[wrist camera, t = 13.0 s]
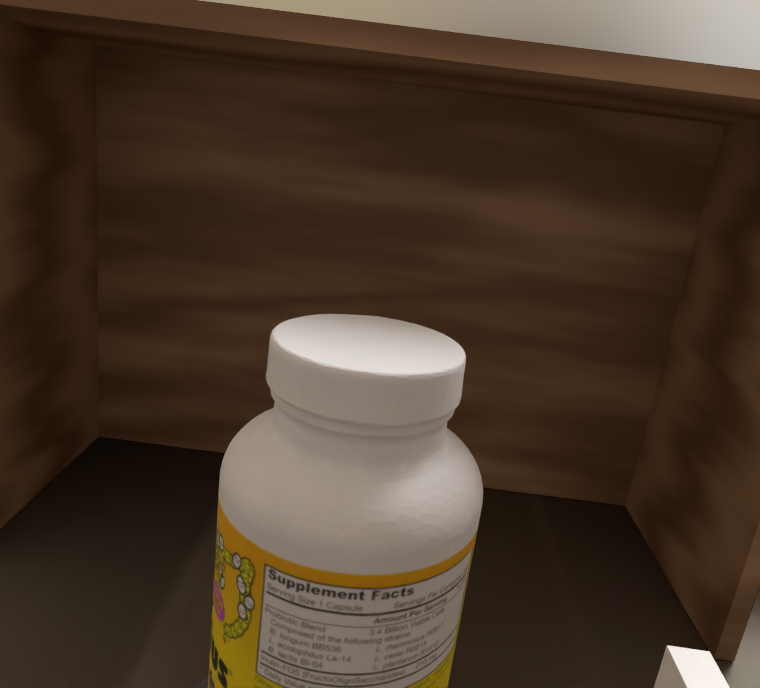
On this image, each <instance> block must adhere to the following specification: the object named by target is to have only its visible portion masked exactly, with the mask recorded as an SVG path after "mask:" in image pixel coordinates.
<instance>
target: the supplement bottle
mask: <svg viewBox="0 0 760 688" xmlns="http://www.w3.org/2000/svg"><path fill="white" fill-rule="evenodd" d="M465 364H466V355H465V352H464V350H463V348H462V347H461V346H460V345H459V344H458V343H457V342H456V341H454V340H453V339H451V338H450V337H448V336H446V335H444V334H442V333H440V332H438V331H435V330H433V329H430V328H427V327H424V326H421V325H417V324H413V323H409V322H405V321H401V320H396V319H390V318H384V317H379V316H368V315H349V314H317V315H307V316H302V317H298V318H293V319H290V320H287V321H284V322H282V323H280V324H279V325H277V326H276V327H275V328H274V329H273V330H272V333H271V335H270V341H269V353H268V364H267V371H266V381H267V383H268V386H269V387H270V390H271V396H272V397H273V399H274V401H275V403H274V408H272V409H270V410H267V411H265V412H263V413H262V414H260V415H258V416H257V417H255V418H254V419H252V420H251V421H250V422H249V423H247V424H246V425H245V426H244V427H243V428H242V429H241V430H240V431H239V432H238V433H237V434H236V436H235V437H234V438H233V440H232V441H231V443H230V444H229V446H228V448H227V450H226V452H225V455H224V458H223V460H222V465H221V470H220V479H219V493H218V513H217V533H216V552H215V573H214V589H213V602H212V624H211V642H210V657H209V678H208V688H447V687H448V682H449V677H450V671H451V666H452V661H453V656H454V650H455V645H456V640H457V635H458V629H459V624H460V618H461V613H462V608H463V602H464V597H465V591H466V586H467V581H468V576H469V571H470V566H471V561H472V556H473V551H474V546H475V541H476V535H477V530H478V525H479V519H480V514H481V509H482V504H483V484H482V478H481V474H480V471H479V468H478V465H477V463H476V461H475V459H474V457H473V456H472V454H471V452H470V451H469V449H468V448H467V447H466V445H465V444H464V443H463V442H462V441H461V440H460V439H459V438H458V437H457V436H456V435H455V434H454V433H453V432H452V431H450V430H449V429H448V428H447V421H448V420H449V419H450V418H451V417H452V416H453V413H454V411H455V408H457V406H458V405H459V403H460V400H461V395H462V386H463V377H464V371H465Z"/></svg>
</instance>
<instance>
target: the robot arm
mask: <svg viewBox="0 0 760 688" xmlns="http://www.w3.org/2000/svg"><path fill="white" fill-rule="evenodd" d="M654 688H730V687H729V685H728V684H727V682H726V680H725V678H724V676H723V675H722V673H721V671H720V669H719V667H718V666H717V664H716V662H715V660H714V658H713V657H712V655H711V653H710V651H703V650H696V649H689V648H683V647H676V646H669V645H667V646H666V650H665V653H664V656H663V659H662V663H661V666H660V669H659V672H658V676H657V679H656V682H655V685H654Z"/></svg>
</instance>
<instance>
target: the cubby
mask: <svg viewBox="0 0 760 688" xmlns="http://www.w3.org/2000/svg"><path fill="white" fill-rule="evenodd" d="M317 314H349V315H368V316H379V317H384V318H390V319H396V320H401V321H405V322H409V323H413V324H417V325H421V326H424V327H427V328H430V329H433V330H435V331H438V332H440V333H442V334H444V335H446V336H448V337H450V338H451V339H453V340H454V341H456V342H457V343H458V344H459V345H460V346H461V347H462V348H463V350H464V352H465V355H466V364H465V371H464V377H463V386H462V395H461V400H460V403H459V405H458V406H457V408H455V411H454V413H453V416H452V417H451V418H450V419H449V420H448V421H447V428H448V429H449V430H450V431H452V432H453V433H454V434H455V435H456V436H457V437H458V438H459V439H460V440H461V441H462V442H463V443H464V444H465V445H466V447H467V448H468V449H469V451H470V452H471V454H472V456H473V457H474V459H475V461H476V463H477V465H478V468H479V471H480V474H481V478H482V484H483V487H485V488H493V489H500V490H508V491H516V492H523V493H531V494H538V495H546V496H553V497H561V498H569V499H576V500H584V501H591V502H599V503H606V504H614V505H622V506H626V508H627V510H628V511H629V513H630V515H631V517H632V518H633V520H634V522H635V523H636V525H637V527H638V529H639V530H640V532H641V534H642V536H643V537H644V539H645V541H646V542H647V544H648V546H649V548H650V549H651V551H652V553H653V555H654V556H655V558H656V560H657V561H658V563H659V565H660V567H661V568H662V570H663V572H664V574H665V575H666V577H667V579H668V580H669V582H670V584H671V586H672V587H673V589H674V591H675V593H676V594H677V596H678V598H679V599H680V601H681V603H682V605H683V606H684V608H685V610H686V612H687V613H688V615H689V617H690V619H691V620H692V622H693V624H694V625H695V627H696V629H697V631H698V632H699V634H700V636H701V638H702V639H703V641H704V643H705V644H706V646H707V648H708V650H709V651H710V653H711V655H712V657H713V658H714V659H720V660H727V661H734V660H735V657H736V654H737V651H738V648H739V645H740V642H741V639H742V636H743V633H744V631H745V628H746V625H747V622H748V619H749V616H750V613H751V610H752V607H753V605H754V602H755V599H756V596H757V593H758V590H759V587H760V70H752V69H744V68H737V67H729V66H728V67H727V66H720V65H712V64H704V63H696V62H688V61H680V60H672V59H664V58H656V57H648V56H640V55H632V54H624V53H616V52H607V51H600V50H592V49H584V48H575V47H568V46H560V45H552V44H544V43H536V42H528V41H520V40H512V39H503V38H496V37H488V36H480V35H471V34H463V33H455V32H447V31H439V30H431V29H423V28H414V27H407V26H399V25H391V24H383V23H375V22H367V21H359V20H351V19H343V18H334V17H326V16H319V15H310V14H302V13H295V12H287V11H279V10H270V9H262V8H254V7H245V6H238V5H230V4H222V3H214V2H206V1H198V0H0V529H1V528H2V527H3V526H4V525H5V524H6V523H7V522H8V521H9V520H10V519H11V518H12V517H13V516H15V515H16V514H17V513H18V512H19V511H20V510H21V509H22V508H23V507H24V506H25V505H26V504H27V503H28V502H29V501H31V500H32V499H33V498H34V497H35V496H36V495H37V494H38V493H39V492H40V491H41V490H42V489H43V488H44V487H45V486H46V485H48V484H49V483H50V482H51V481H52V480H53V479H54V478H55V477H56V476H57V475H58V474H59V473H60V472H61V471H62V470H63V469H65V468H66V467H67V466H68V465H69V464H70V463H71V462H72V461H73V460H74V459H75V458H76V457H77V456H78V455H79V454H81V453H82V452H83V451H84V450H85V449H86V448H87V447H88V446H89V445H90V444H91V443H92V442H93V441H94V440H95V439H96V438H98V437H107V438H114V439H122V440H129V441H137V442H144V443H152V444H160V445H167V446H175V447H182V448H190V449H197V450H205V451H213V452H220V453H225V452H226V450H227V448H228V446H229V444H230V443H231V441H232V440H233V438H234V437H235V436H236V434H237V433H238V432H239V431H240V430H241V429H242V428H243V427H244V426H245V425H246V424H247V423H249V422H250V421H251V420H252V419H254V418H255V417H257V416H258V415H260V414H262V413H263V412H265V411H267V410H270V409H272V408H274V403H275V401H274V399H273V397H272V396H271V390H270V387H269V386H268V383H267V381H266V371H267V364H268V353H269V341H270V335H271V333H272V330H273V329H274V328H275V327H276V326H277V325H279V324H280V323H282V322H284V321H287V320H290V319H293V318H298V317H302V316H307V315H317Z"/></svg>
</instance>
